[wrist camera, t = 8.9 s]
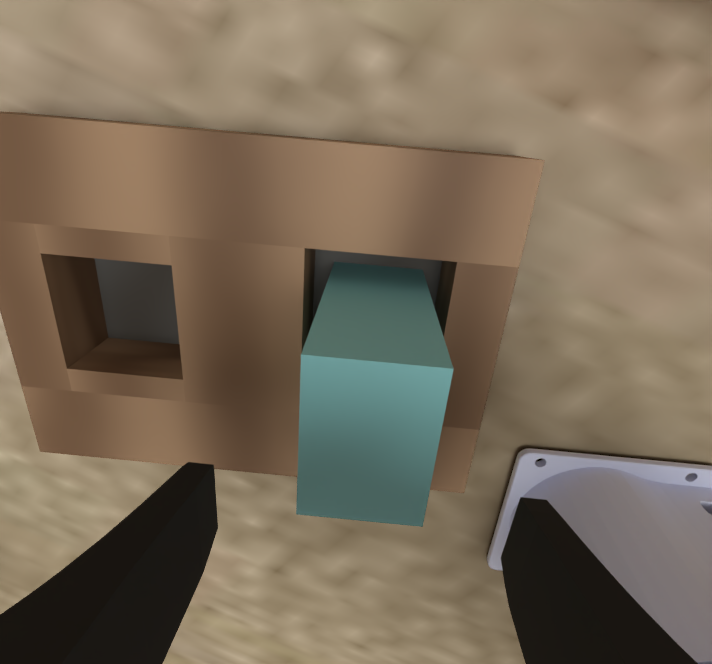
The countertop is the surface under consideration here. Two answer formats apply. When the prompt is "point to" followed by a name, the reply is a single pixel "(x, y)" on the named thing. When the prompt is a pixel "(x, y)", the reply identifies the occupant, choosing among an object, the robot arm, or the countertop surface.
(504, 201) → the socket board
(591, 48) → the countertop surface
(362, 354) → the teal cuboid tower
